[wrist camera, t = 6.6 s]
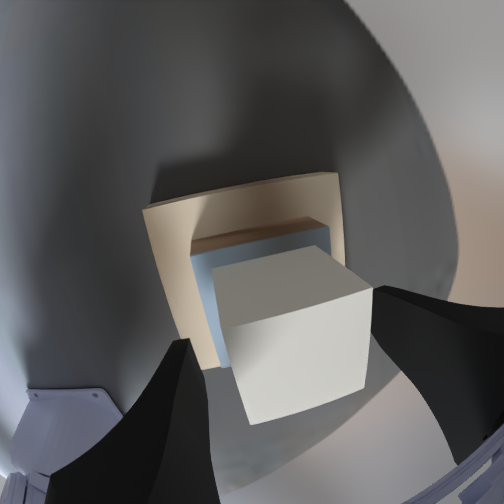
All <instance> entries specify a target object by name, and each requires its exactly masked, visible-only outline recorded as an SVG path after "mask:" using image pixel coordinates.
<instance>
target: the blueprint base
mask: <svg viewBox="0 0 504 504" xmlns="http://www.w3.org/2000/svg"><path fill="white" fill-rule="evenodd" d="M142 211H143V215H144V220H145V224H146V228H147V231H148V235H149V239H150V243H151V247H152V250H153V254H154V257H155V261H156V264H157V268H158V271H159V275H160V278H161V281H162V284H163V288H164V291H165V294H166V297H167V300H168V303H169V306H170V309H171V312H172V315H173V318H174V321H175V324H176V326H177V329H178V332H179V335H180V338H181V339H185V338H190V341H191V344H192V346H193V349H194V352H195V355H196V357H197V360H198V363H199V365H200V368H201V370H204V369H209V368H214V367H219V366H221V367H222V368H226V367H230V366H231V363H230V359H229V356H228V353H227V349H226V346H225V342H224V339H223V335H222V332H221V327H220V321H219V315H218V309H217V303H216V296H215V290H214V283H213V276H212V268H217V267H221V266H226V265H230V264H235V263H239V262H243V261H248V260H252V259H257V258H261V257H265V256H270V255H274V254H278V253H283V252H287V251H291V250H296V249H300V248H304V247H309V246H313V245H316V246H317V247H318V248H320V249H321V250H323V251H324V252H325V253H327V254H328V255H330V256H331V257H332V258H334V259H335V260H336V261H338V262H339V263H341V264H342V265H343V266H345V252H344V234H343V220H342V208H341V197H340V187H339V178H338V173H333V172H315V173H308V174H301V175H294V176H288V177H281V178H275V179H269V180H263V181H257V182H252V183H246V184H241V185H235V186H230V187H225V188H220V189H215V190H210V191H205V192H201V193H196V194H191V195H187V196H182V197H178V198H174V199H170V200H165V201H161V202H157V203H153V204H149V205H148V206H147V207H145V208H144V209H143V210H142Z"/></svg>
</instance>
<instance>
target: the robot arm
mask: <svg viewBox="0 0 504 504" xmlns="http://www.w3.org/2000/svg"><path fill="white" fill-rule="evenodd" d="M370 331H371V333H372V335H373V336H374V338H375V339H376V341H377V342H378V344H379V345H380V347H381V348H382V349H383V350H384V352H385V353H386V354H387V355H388V356H389V357H390V358H391V359H392V361H393V362H394V363H395V364H396V365H397V366H398V367H399V368H400V369H401V370H402V372H403V373H404V374H405V375H406V376H407V377H408V378H409V379H410V380H411V382H412V383H413V384H414V385H415V387H416V388H417V389H418V391H419V392H420V394H421V395H422V396H423V398H424V400H425V401H426V402H427V404H428V406H429V407H430V409H431V411H432V412H433V414H434V416H435V418H436V419H437V421H438V423H439V425H440V427H441V429H442V431H443V433H444V435H445V438H446V440H447V442H448V445H449V447H450V450H451V452H452V455H453V458H454V461H455V463H456V464H457V465H458V466H457V467H456V468H454V469H453V470H452V471H450V472H449V473H448V474H446V475H445V476H444V477H442V478H441V479H440V480H438V481H437V482H436V483H434V484H432V485H431V486H429V487H428V488H426V489H425V490H424V491H422V492H420V493H419V494H417V495H415V496H414V497H412V498H410V499H409V500H407V501H405V502H404V503H402V504H436V503H437V502H438V501H440V500H441V499H442V498H444V497H445V496H447V495H448V494H449V493H451V492H452V491H453V490H455V489H456V488H457V487H458V486H460V485H461V484H462V483H463V482H465V481H466V480H467V479H468V478H469V477H471V476H472V475H473V474H474V473H475V472H476V471H477V470H479V469H480V468H481V467H482V466H483V465H484V464H485V463H486V462H487V461H488V460H489V459H490V458H491V457H492V456H493V457H492V464H491V466H490V467H489V468H488V469H487V470H486V471H485V472H484V473H483V474H482V475H480V476H479V477H478V478H477V479H476V480H475V481H474V482H473V483H471V484H470V485H469V486H468V487H467V488H466V489H464V490H463V491H462V492H461V493H459V495H458V497H459V498H460V500H461V501H462V504H504V308H496V307H479V306H471V305H464V304H458V303H453V302H448V301H444V300H440V299H436V298H432V297H428V296H425V295H421V294H417V293H414V292H410V291H407V290H403V289H399V288H395V287H391V286H385V285H384V286H381V287H378V288H375V289H373V294H372V315H371V330H370ZM26 395H27V396H28V398H29V399H30V401H29V403H28V405H27V407H26V409H25V411H24V413H23V416H22V418H21V420H20V422H19V424H18V427H17V429H16V431H15V434H14V436H13V438H12V441H11V446H10V454H11V460H12V464H13V466H14V469H15V470H16V473H10V474H9V476H8V477H7V480H6V482H5V485H4V488H3V491H2V494H1V498H0V504H221V503H220V499H219V495H218V491H217V486H216V482H215V477H214V472H213V467H212V462H211V454H210V439H209V416H208V398H207V392H206V385H205V379H204V376H203V373H202V371H201V368H200V365H199V363H198V360H197V357H196V355H195V352H194V349H193V346H192V344H191V341H190V338H185V339H180V340H175V341H173V342H172V344H171V345H170V347H169V349H168V351H167V352H166V354H165V356H164V358H163V360H162V361H161V363H160V365H159V367H158V368H157V370H156V372H155V373H154V375H153V377H152V378H151V380H150V382H149V383H148V385H147V386H146V388H145V389H144V391H143V392H142V394H141V395H140V397H139V398H138V399H137V401H136V402H135V403H134V405H133V406H132V407H131V408H130V410H129V411H128V412H127V413H126V414H125V416H124V417H123V415H122V414H121V413H120V411H119V410H118V408H117V407H116V406H115V404H114V403H113V401H112V400H111V398H110V397H109V395H108V394H107V392H106V391H105V390H104V389H101V388H92V389H65V390H39V389H27V390H26Z"/></svg>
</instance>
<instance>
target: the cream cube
mask: <svg viewBox="0 0 504 504" xmlns="http://www.w3.org/2000/svg"><path fill="white" fill-rule="evenodd" d="M212 276H213V283H214V290H215V296H216V303H217V309H218V315H219V321H220V327H221V332H222V335H223V339H224V342H225V346H226V349H227V353H228V356H229V359H230V363H231V366H232V369H233V373H234V376H235V379H236V382H237V386H238V389H239V392H240V395H241V398H242V401H243V404H244V407H245V410H246V413H247V416H248V419H249V422H250V425H253V424H258V423H262V422H266V421H269V420H273V419H277V418H281V417H284V416H288V415H291V414H294V413H298V412H301V411H304V410H307V409H310V408H313V407H316V406H319V405H322V404H325V403H327V402H330V401H333V400H335V399H338V398H341V397H343V396H346V395H348V394H351V393H353V392H356V391H358V390H360V389H363V388H364V384H365V377H366V369H367V361H368V352H369V342H370V330H371V315H372V294H373V287H372V286H370V285H369V284H368V283H366V282H365V281H364V280H362V279H361V278H360V277H358V276H357V275H356V274H354V273H353V272H352V271H350V270H349V269H347V268H346V267H345V266H343V265H342V264H341V263H339V262H338V261H336V260H335V259H334V258H332V257H331V256H330V255H328V254H327V253H325V252H324V251H323V250H321V249H320V248H318V247H317V246H316V245H313V246H309V247H304V248H300V249H296V250H291V251H287V252H283V253H278V254H274V255H270V256H265V257H261V258H257V259H252V260H248V261H243V262H239V263H235V264H230V265H226V266H221V267H217V268H212Z"/></svg>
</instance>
